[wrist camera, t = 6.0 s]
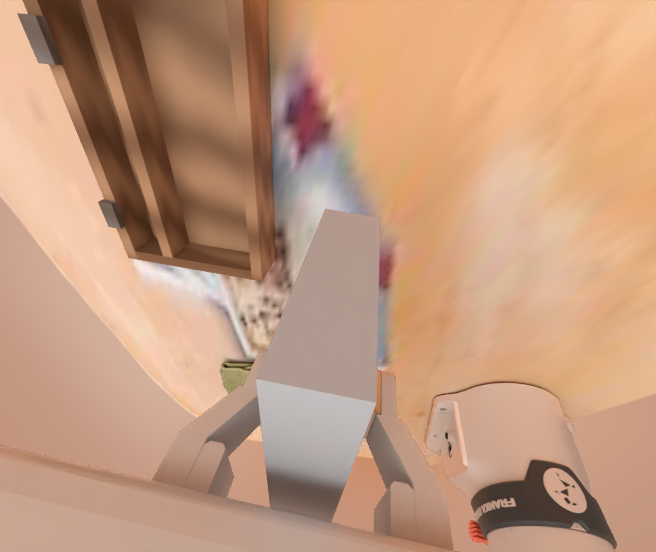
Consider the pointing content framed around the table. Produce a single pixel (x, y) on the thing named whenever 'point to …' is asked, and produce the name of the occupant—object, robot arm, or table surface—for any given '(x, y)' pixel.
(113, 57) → the wooden tray
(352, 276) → the rectangular block
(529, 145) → the table surface
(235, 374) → the washcloth
